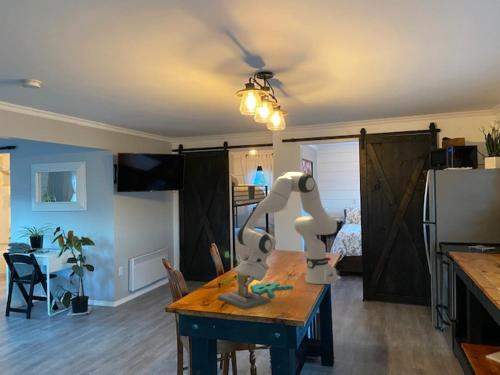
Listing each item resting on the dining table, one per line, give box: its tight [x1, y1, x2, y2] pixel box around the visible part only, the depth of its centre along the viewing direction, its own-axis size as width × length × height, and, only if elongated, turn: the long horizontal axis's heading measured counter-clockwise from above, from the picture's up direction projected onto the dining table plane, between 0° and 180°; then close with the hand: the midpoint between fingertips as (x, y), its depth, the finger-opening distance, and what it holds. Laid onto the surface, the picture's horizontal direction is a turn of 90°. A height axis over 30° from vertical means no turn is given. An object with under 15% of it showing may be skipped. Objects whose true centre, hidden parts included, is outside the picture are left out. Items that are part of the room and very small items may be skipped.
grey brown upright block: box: [236, 274, 251, 298], centre depth 186 cm, size 5×6×11 cm
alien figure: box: [250, 281, 294, 299], centre depth 201 cm, size 20×2×20 cm
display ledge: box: [217, 289, 271, 310], centre depth 186 cm, size 16×24×3 cm, turn 38°
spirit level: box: [217, 274, 238, 288], centre depth 225 cm, size 33×1×3 cm, turn 150°
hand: (241, 283), depth 185 cm, fingers closed on grey brown upright block, 5 cm apart
